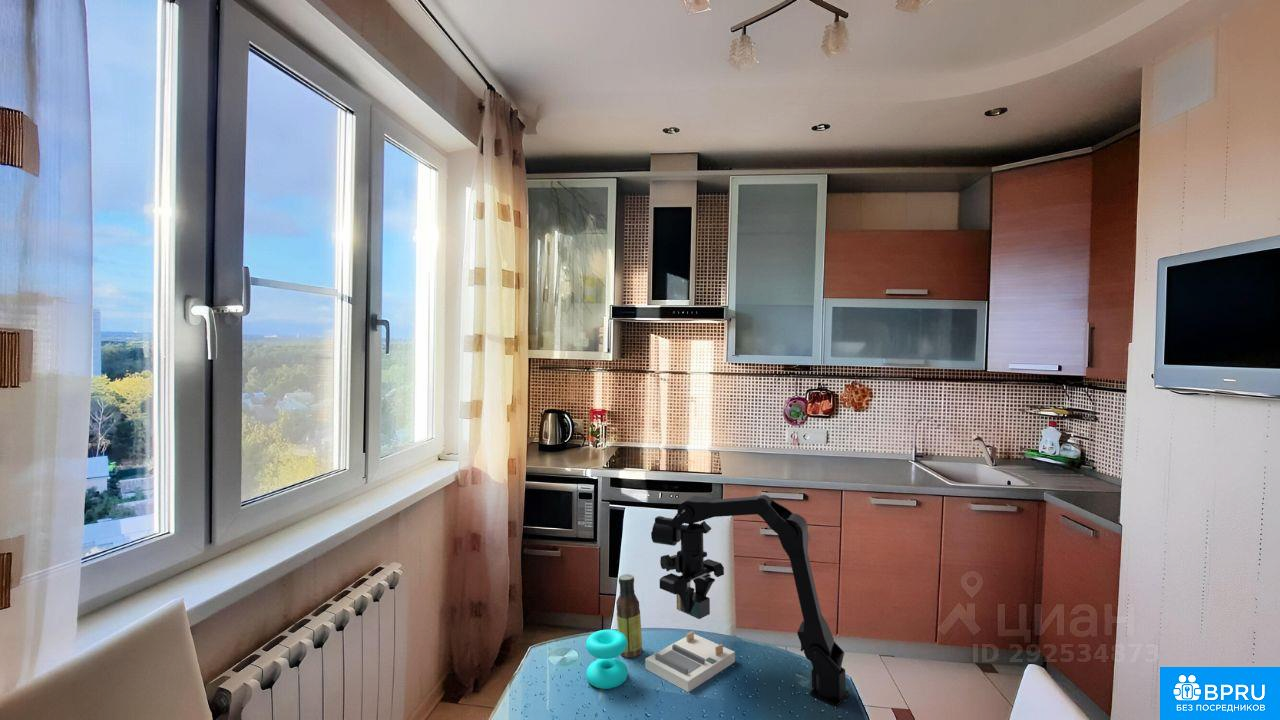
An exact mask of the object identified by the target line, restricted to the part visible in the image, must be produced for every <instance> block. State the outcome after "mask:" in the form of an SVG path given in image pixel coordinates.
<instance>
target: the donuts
mask: <svg viewBox="0 0 1280 720" xmlns="http://www.w3.org/2000/svg"><path fill="white" fill-rule="evenodd" d="M626 647H627V639H626V637H625V635H624V634H622V633H621V632H619V631H618V630H616V629H601V630H597V631H595V632H593V633H591V634H590V635H589V636H588V637H587V639H586V642H585V649H586V651H587V652H588V653H589V655H590V656H592V657H594V658H597V659H596V660H594V661H592V662H591V663H590V664H589V666H588V667H587V670H586V674H585V675H586V680H587V682H588V684H590V685H592V686H593V687H595V688H598V689H603V690H606V689H607V690H609V689H614V688H617V687H619V686H621V685H622V684H623V683H625V681H626V680H627V678H628V675H629V671H628V670H629V669H628V667H627V665H626V663H624V661H622V660H621V659H619V658H617V657H619V656H622V655H621V654H622V653H623V652H624V651H625V649H626Z"/></svg>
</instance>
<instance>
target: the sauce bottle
mask: <svg viewBox="0 0 1280 720" xmlns="http://www.w3.org/2000/svg"><path fill="white" fill-rule="evenodd" d="M618 584H619V596H618V598H617V599H616V622H617V623H616V626H617V631H619V632H621V633H622V634H624V635H625V637H626V639H627V647H626V649H625V651H624V652H623V653H622V654H621V655H620V656H622V657H624V658H635V657H638V656H640V655H641V654H642V651H643V640H642V637H643V636H642V623H641V622H642V621H641V620H642V619H641V610H640V601H639V600H638V597H637V595H636V594H635V576H634V575H632V574H629V573H626V574H625V573H624V574H622V575H619V577H618Z"/></svg>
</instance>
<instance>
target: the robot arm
mask: <svg viewBox="0 0 1280 720" xmlns="http://www.w3.org/2000/svg"><path fill="white" fill-rule="evenodd" d="M750 515H757V516H759V517H760V518H762V519H763V521H764V522H765V524H766V525H767V526H768V527H769V528H770V529H771V530H772V531H773V532H774V533H776V534H777V536H778V539H779V542H780V544H781V546H782V549H783V550H784V552H785V553H786V555H787V556H788V557H787V558H788V559H789V562H790V566H791V571H792V577H793V579H794V584H795V587H796V593H797V597H798V601H799V606H800V607H799V608H800V611H801V615H802V619H803V621H801V622H800V625H799V627H798V629H797V636H798V637H797V638H798V639H799V642H800V652H803V653H804V656H805V658H806V659H807V660H808V661H809V662H810V663H811V665H812V669H811V675H810V676H811V677H810V679H811V688H812V690H810V691H809V695H810V696H813V697H814V698H817V699H819V700H821V701H823V702H825V703H827V704H830V705H832V706H834V707H838V706H839V705H840V704H842V702H843V701H844V700H846V699H847V698H848V697H849V696H850V691H848V690H847V688H846V687H847V685H846V681H847V680H846V669H845V668H843V666H842V664H843V661H844V656H845V651H844V650H843V649H842V648H841V647H840V645H838V644H837V642H835V639H834V635H833V634H832V631H831V628H830V626H829V624H828V622H827V620H825V617H824V616H823V614H822V610H821V607H820V601H819V597H818V596H819V595H818V593H817V589H816V584H815V580H814V579H815V578H814V575H813V572H812V566H811V561H810V559H809V555H808V554H809V553H808V550H809V548H808V547H809V530H808V522H807V520H806V519H805V518H804V517H803V516H801V515H800V514H797V513H793V511H791V510H790V509H788V508H787V507H785V506H783V504H779V502H776V501H775V500H774V499H773V498H771V497H770V496H769V495H766V494H760V495H757V496H747V497H745V496H744V497H732V498H720V499H716V498H715V499H714V498H710V497H705V496H699V495H692V496H689V497H688V498H686V499H685V500H683V501H681V502H680V503H679V504H678V507H677V513H676V514H675V516H674V517H673V518H671V517H664V516H660V515H658V516H656V517H654V523H653V525H652V531H651V533H650V536H651V537H650V538H651V541H652V543H653V544H660V545H665V546H666V545H667V546H671V547H672V546H673V547H674V546H677V544H678V543H680V550H678V551H676V554H673V555H670V554H664V555H662V556H660V558H659V559H660V560H659V562H660V563H659V564H660V568H661V569H662V570H665V571H666V572H669V571H672V570H673V571H674V570H675V573H678V574H681V575H678V574H674V573H668V574H666V575H663V576H662V577H660V579H659V589H661V590H663V591H665V592H668V593H670V594H673V595H677V594H679V596H680V598H681V601H682V604H683V607H684V609H685V612H686V613H689V612H690V609H691V604H692V599H693V594H694V592H696V593H698V594H701V595H703V596H706V597H707V595H708V593H709V591H710V589H711V587H712V585H713V583H714V582H715V581H716V579H715V578H714V577H717V578H719V577H721V576H724V575H725V568H724V565H723V564H722V562H719V561H716V560H712V559H709V558H707V557H708V552H707V551H705V550H704V534H705V535H706V534H708V533H710V532H711V530H712V527H711V526H710V525H709V524H707V522H706V520H708V519H711V518H716V517H717V518H718V517H734V516H735V517H736V516H750ZM699 522H701V523H699ZM704 558H707V559H704ZM711 573H713V576H714V577H712V576H711ZM692 581H693V583H694V588H693V587H691V583H692ZM686 613H685V614H686Z"/></svg>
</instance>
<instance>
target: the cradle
mask: <svg viewBox="0 0 1280 720" xmlns="http://www.w3.org/2000/svg"><path fill="white" fill-rule="evenodd" d="M644 661H645V670H647V671H649V672H651V673H652V674H654V675H656V676H658V677H659V678H661V679H663V680H666V682H669V683H670V684H673V685H675V686H676V687H678V688H679V689H682V690H683V691H685V692H687V693H690V692H691V691H692V690H694V689H696V688H697V687H699V686H700V685H702V684H703V683H705V682H706V681H708V680H710V679H711V678H713V677H715V676H716V675H717V674H718V673H720V672H722V671H723V670H725V669H726V668H728V667H729V666H731V665H732V664H734V663H735V662H736V651H734V650H732V649H729V648H727V647H725V646H724V645H723V643H720V644H718V643H716V642H713V641H712V640H709V639H707V638H704V637H702V636H700V635H698V634H696V633H695V632H694V631H693V630H692V631H690V632H688V633H687V634H686V636H685V637H683V638H681V639H679V640H678V641H676V642H673V643H672V644H669V645H668V646H666V647H664V648H662V649H660V650H658V651H657V652H655V653H653V654H651V655H649V656H648V657H646V658H645V659H644Z"/></svg>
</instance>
